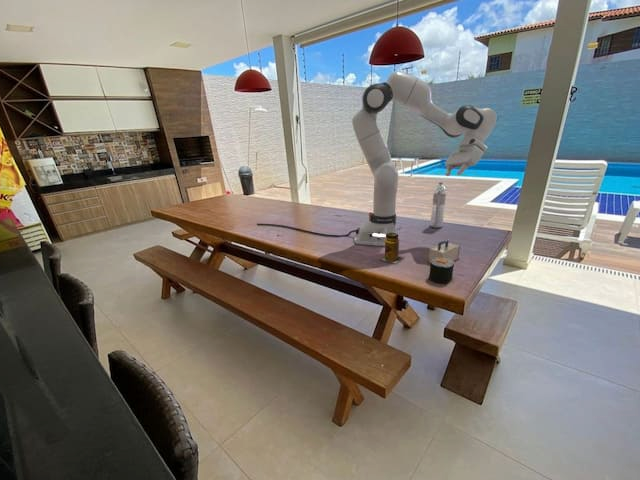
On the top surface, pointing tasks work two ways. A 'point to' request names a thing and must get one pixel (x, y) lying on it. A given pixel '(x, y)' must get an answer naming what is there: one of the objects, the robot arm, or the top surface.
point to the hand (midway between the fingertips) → (452, 174)
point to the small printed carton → (445, 251)
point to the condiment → (392, 248)
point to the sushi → (441, 270)
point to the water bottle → (438, 206)
